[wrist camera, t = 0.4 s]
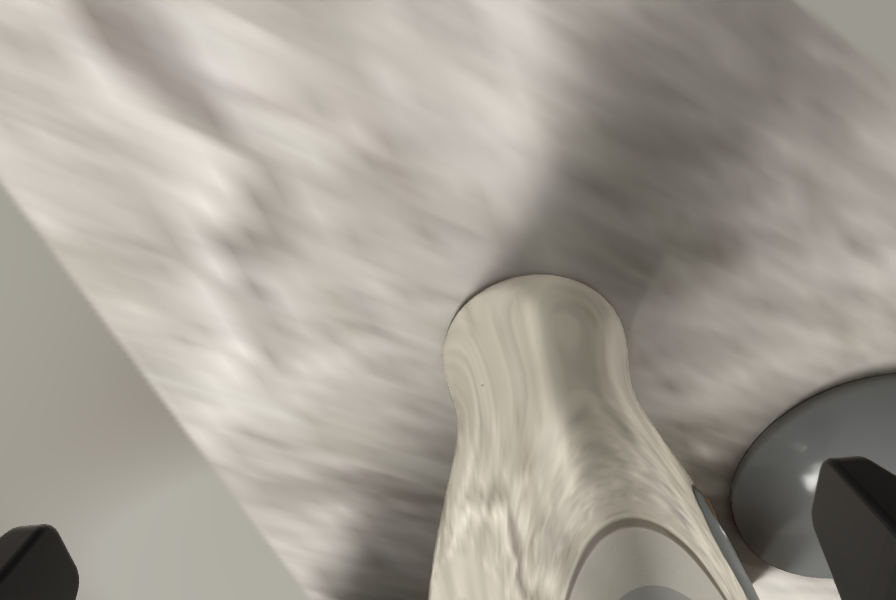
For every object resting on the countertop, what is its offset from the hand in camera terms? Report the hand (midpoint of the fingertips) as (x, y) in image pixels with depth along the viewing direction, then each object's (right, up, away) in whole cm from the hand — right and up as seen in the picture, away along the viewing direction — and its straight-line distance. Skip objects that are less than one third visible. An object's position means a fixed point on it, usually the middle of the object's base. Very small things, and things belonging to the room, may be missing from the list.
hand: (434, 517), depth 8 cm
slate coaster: (+16, -4, +19) cm, 25 cm away
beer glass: (+3, +1, +16) cm, 16 cm away
